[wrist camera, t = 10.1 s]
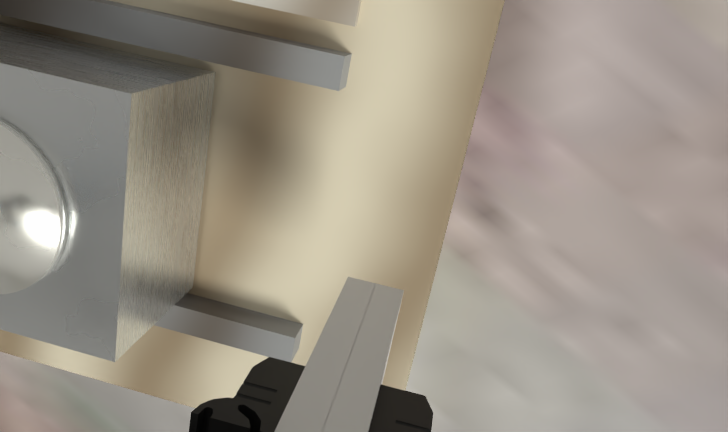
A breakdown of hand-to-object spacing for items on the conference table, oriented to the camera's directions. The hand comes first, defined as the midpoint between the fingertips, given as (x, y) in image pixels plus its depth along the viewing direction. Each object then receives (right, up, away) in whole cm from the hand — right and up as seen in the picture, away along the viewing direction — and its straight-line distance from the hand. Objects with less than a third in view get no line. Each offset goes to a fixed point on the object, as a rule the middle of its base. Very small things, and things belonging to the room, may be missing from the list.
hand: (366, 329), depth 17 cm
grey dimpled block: (-9, +7, +4) cm, 12 cm away
